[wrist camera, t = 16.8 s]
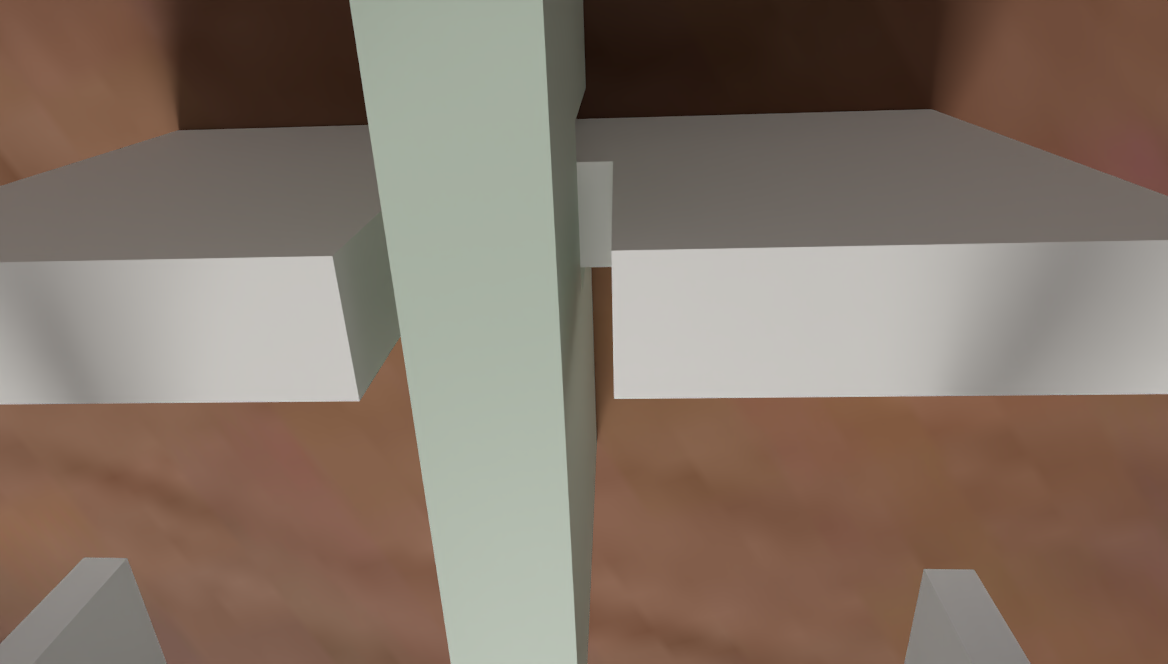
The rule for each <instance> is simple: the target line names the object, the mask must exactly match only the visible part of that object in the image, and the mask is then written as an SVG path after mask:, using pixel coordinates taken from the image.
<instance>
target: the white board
mask: <svg viewBox="0 0 1168 664" xmlns="http://www.w3.org/2000/svg"><path fill="white" fill-rule="evenodd" d="M575 132H576V159H577V186H578V213H579V239H580V266H581V267H612V312H613V366H614V399H652V398H765V397H878V396H990V395H1103V394H1168V196H1166V195H1163V194H1160V193H1158V192H1155V191H1152V190H1150V189H1147V188H1144V187H1141V186H1139V185H1136V184H1133V183H1131V182H1128V181H1125V180H1122V179H1120V178H1117V177H1114V176H1112V175H1109V174H1106V173H1103V172H1101V171H1098V170H1095V169H1093V168H1090V167H1087V166H1085V165H1082V164H1079V163H1076V162H1074V161H1071V160H1068V159H1066V158H1063V157H1060V156H1057V155H1055V154H1052V153H1049V152H1047V151H1044V150H1041V149H1038V148H1036V147H1033V146H1030V145H1028V144H1025V143H1022V142H1019V141H1017V140H1014V139H1011V138H1009V137H1006V136H1003V135H1000V134H998V133H995V132H992V131H990V130H987V129H984V128H981V127H979V126H976V125H973V124H971V123H968V122H965V121H962V120H960V119H957V118H954V117H952V116H949V115H946V114H943V113H941V112H938V111H935V110H933V109H918V110H882V111H847V112H811V113H776V114H740V115H705V116H670V117H634V118H599V119H576V120H575ZM400 336H401V334H400V328H399V321H398V315H397V308H396V302H395V295H394V288H393V282H392V275H391V269H390V262H389V256H388V249H387V243H386V236H385V230H384V223H383V217H382V210H381V204H380V197H379V191H378V184H377V178H376V171H375V165H374V158H373V152H372V145H371V138H370V132H369V125H350V126H315V127H279V128H244V129H209V130H178V131H174V132H171V133H168V134H165V135H162V136H159V137H155V138H152V139H149V140H146V141H143V142H139V143H136V144H133V145H130V146H127V147H124V148H120V149H117V150H114V151H111V152H108V153H104V154H101V155H98V156H95V157H92V158H89V159H85V160H82V161H79V162H76V163H73V164H69V165H66V166H63V167H60V168H57V169H53V170H50V171H47V172H44V173H41V174H38V175H34V176H31V177H28V178H25V179H22V180H18V181H15V182H12V183H9V184H6V185H3V186H0V404H89V403H202V402H315V401H360V400H361V398H362V396H363V395H364V393H365V392H366V390H367V388H368V387H369V385H370V384H371V382H372V380H373V379H374V377H375V376H376V374H377V373H378V371H379V369H380V368H381V366H382V365H383V363H384V361H385V360H386V358H387V357H388V355H389V353H390V352H391V350H392V349H393V347H394V345H395V344H396V342H397V341H398V339H399V338H400Z"/></svg>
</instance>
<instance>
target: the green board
mask: <svg viewBox="0 0 1168 664" xmlns="http://www.w3.org/2000/svg"><path fill="white" fill-rule="evenodd" d="M349 2H350V8H351V15H352V21H353V28H354V34H355V41H356V47H357V54H358V60H359V67H360V73H361V80H362V86H363V93H364V99H365V106H366V112H367V119H368V125H369V132H370V138H371V145H372V152H373V158H374V165H375V171H376V178H377V184H378V191H379V197H380V204H381V210H382V217H383V223H384V230H385V236H386V243H387V249H388V256H389V262H390V269H391V275H392V282H393V288H394V295H395V302H396V308H397V315H398V321H399V328H400V334H401V341H402V347H403V354H404V360H405V367H406V373H407V380H408V386H409V393H410V399H411V406H412V412H413V419H414V425H415V432H416V438H417V445H418V452H419V458H420V465H421V471H422V478H423V484H424V491H425V497H426V504H427V510H428V517H429V523H430V530H431V536H432V543H433V549H434V556H435V562H436V569H437V575H438V582H439V588H440V595H441V601H442V608H443V615H444V621H445V628H446V634H447V641H448V647H449V654H450V660H451V664H587V658H588V634H589V611H590V588H591V565H592V542H593V518H594V495H595V472H596V449H597V434H596V402H595V369H594V337H593V305H592V272H591V267H581V266H580V239H579V213H578V186H577V159H576V132H575V120H576V117H577V114H578V111H579V108H580V105H581V101H582V98H583V95H584V92H585V89H586V78H585V45H584V13H583V0H349Z"/></svg>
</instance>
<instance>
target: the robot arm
mask: <svg viewBox="0 0 1168 664" xmlns="http://www.w3.org/2000/svg"><path fill="white" fill-rule="evenodd" d="M0 664H167V663H166V660H165V658H164V655H163V652H162V650H161V647H160V644H159V642H158V639H157V636H156V634H155V631H154V628H153V626H152V623H151V621H150V618H149V615H148V613H147V610H146V607H145V605H144V602H143V599H142V597H141V594H140V591H139V589H138V586H137V583H136V581H135V578H134V575H133V573H132V570H131V567H130V565H129V562H128V559H127V558H83V559H82V560H81V561H80V562H79V563H78V564H77V565H76V566H75V567H74V568H73V569H72V570H71V571H70V572H69V574H68V575H67V576H66V577H65V578H64V579H63V580H62V581H61V582H60V583H59V584H58V585H57V586H56V587H55V588H54V589H53V590H52V591H51V592H50V593H49V594H48V595H47V596H46V597H45V598H44V599H43V600H42V601H41V602H40V603H39V604H38V605H37V606H36V608H35V609H34V610H33V611H32V612H31V613H30V614H29V615H28V616H27V617H26V618H25V619H24V620H23V621H22V622H21V623H20V624H19V625H18V626H17V627H16V628H15V629H14V630H13V631H12V632H11V633H10V634H9V635H8V636H7V637H6V638H5V639H4V640H3V641H2V643H1V644H0ZM904 664H1031V663H1030V662H1029V660H1028V659H1027V657H1026V655H1025V654H1024V652H1023V650H1022V649H1021V647H1020V645H1019V644H1018V642H1017V640H1016V639H1015V637H1014V635H1013V634H1012V632H1011V630H1010V629H1009V627H1008V625H1007V624H1006V622H1005V620H1004V619H1003V617H1002V615H1001V614H1000V612H999V610H998V609H997V607H996V605H995V604H994V602H993V600H992V599H991V597H990V595H989V594H988V592H987V590H986V589H985V587H984V585H983V584H982V582H981V580H980V579H979V577H978V575H977V574H976V572H975V570H955V569H924V571H923V576H922V581H921V586H920V590H919V595H918V600H917V605H916V610H915V615H914V619H913V624H912V629H911V634H910V639H909V644H908V648H907V653H906V658H905V663H904Z"/></svg>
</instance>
